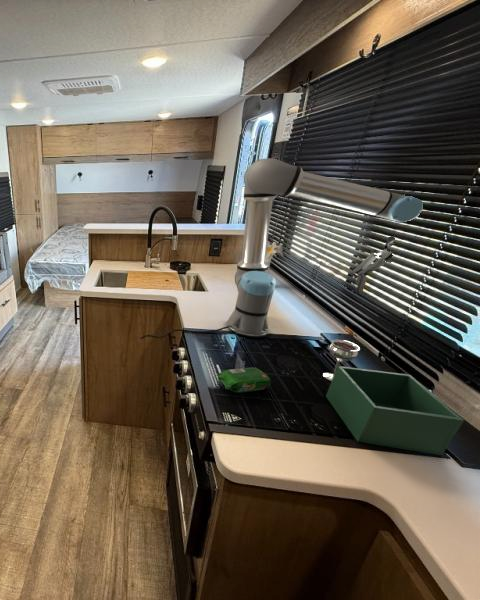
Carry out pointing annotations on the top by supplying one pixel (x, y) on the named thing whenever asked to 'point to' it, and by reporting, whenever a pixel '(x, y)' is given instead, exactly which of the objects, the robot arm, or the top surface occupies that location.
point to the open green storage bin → (392, 410)
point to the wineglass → (341, 353)
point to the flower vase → (272, 252)
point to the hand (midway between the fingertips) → (382, 295)
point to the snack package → (244, 380)
